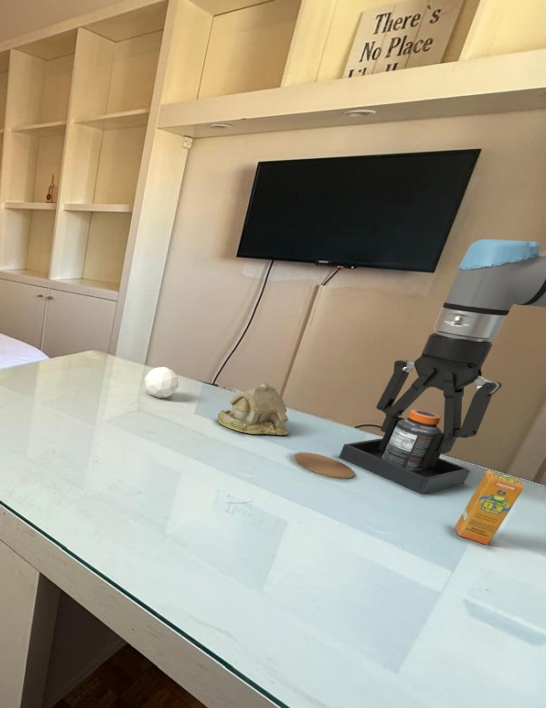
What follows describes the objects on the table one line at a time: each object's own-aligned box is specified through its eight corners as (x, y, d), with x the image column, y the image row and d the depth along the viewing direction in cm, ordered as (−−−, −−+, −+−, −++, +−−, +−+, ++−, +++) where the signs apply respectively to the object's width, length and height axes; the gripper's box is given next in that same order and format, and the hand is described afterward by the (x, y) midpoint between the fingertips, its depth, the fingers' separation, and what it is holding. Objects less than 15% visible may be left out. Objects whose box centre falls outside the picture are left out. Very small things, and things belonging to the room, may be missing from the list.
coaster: (364, 475, 82) (365, 473, 82) (332, 481, 79) (333, 479, 79) (313, 452, 90) (314, 450, 90) (282, 457, 87) (283, 455, 87)
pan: (463, 484, 82) (471, 469, 81) (421, 494, 77) (428, 479, 76) (379, 450, 93) (385, 437, 92) (338, 457, 89) (344, 444, 88)
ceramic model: (252, 414, 108) (265, 374, 104) (298, 435, 98) (314, 391, 94) (207, 418, 103) (218, 376, 100) (250, 440, 93) (265, 395, 90)
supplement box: (456, 535, 66) (489, 476, 63) (454, 526, 69) (485, 468, 65) (489, 547, 64) (525, 486, 61) (486, 536, 67) (520, 477, 63)
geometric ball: (146, 404, 117) (135, 375, 118) (176, 394, 117) (164, 366, 118) (157, 400, 109) (145, 369, 111) (189, 389, 109) (176, 359, 111)
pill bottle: (417, 467, 86) (443, 412, 82) (426, 480, 81) (454, 423, 77) (376, 457, 89) (400, 404, 85) (383, 469, 84) (408, 413, 80)
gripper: (382, 324, 83) (337, 437, 91) (532, 352, 67) (460, 487, 75) (407, 323, 86) (361, 433, 94) (556, 350, 69) (484, 481, 77)
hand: (405, 457), depth 84 cm, fingers closed on pill bottle, 6 cm apart
